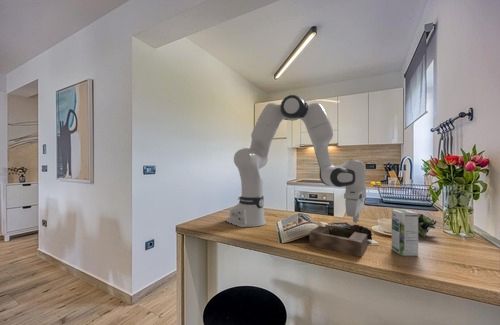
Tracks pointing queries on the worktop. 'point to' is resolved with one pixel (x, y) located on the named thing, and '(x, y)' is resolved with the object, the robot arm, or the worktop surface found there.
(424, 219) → the green leafy plant
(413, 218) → the syrup box
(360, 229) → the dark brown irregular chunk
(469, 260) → the worktop surface
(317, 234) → the socket block
